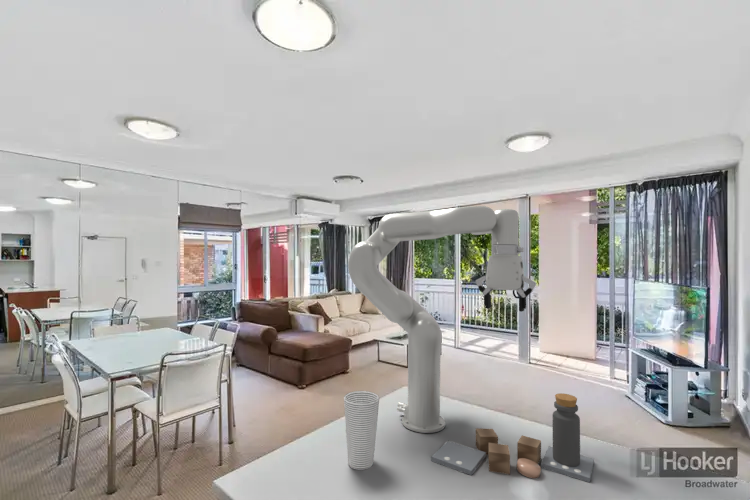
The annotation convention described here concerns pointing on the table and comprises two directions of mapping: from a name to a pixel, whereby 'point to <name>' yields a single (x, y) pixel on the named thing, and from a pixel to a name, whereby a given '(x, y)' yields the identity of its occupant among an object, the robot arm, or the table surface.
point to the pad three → (579, 472)
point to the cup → (361, 427)
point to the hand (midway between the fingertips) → (504, 309)
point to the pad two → (459, 457)
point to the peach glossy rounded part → (528, 468)
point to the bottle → (566, 430)
